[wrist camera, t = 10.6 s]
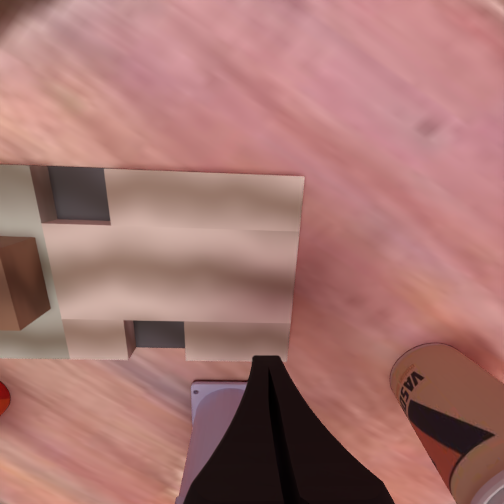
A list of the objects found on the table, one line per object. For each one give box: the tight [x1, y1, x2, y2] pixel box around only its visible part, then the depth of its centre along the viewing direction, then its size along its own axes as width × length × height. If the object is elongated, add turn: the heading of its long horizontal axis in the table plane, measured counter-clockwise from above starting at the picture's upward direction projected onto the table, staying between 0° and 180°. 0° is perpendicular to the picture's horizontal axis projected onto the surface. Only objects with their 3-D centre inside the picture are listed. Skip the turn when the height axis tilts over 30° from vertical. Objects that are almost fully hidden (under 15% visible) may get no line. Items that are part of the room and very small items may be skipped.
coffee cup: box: [390, 343, 504, 504], centre depth 21 cm, size 9×9×12 cm
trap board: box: [0, 164, 305, 362], centre depth 21 cm, size 16×26×2 cm, turn 88°
